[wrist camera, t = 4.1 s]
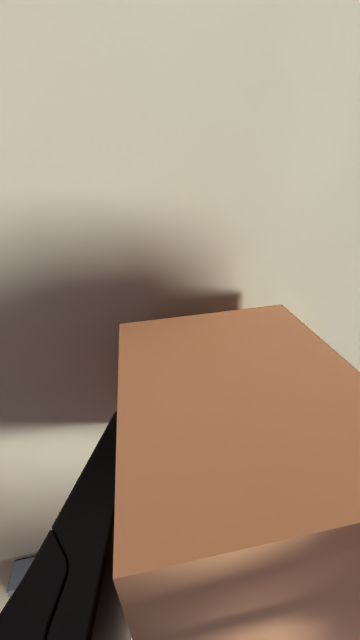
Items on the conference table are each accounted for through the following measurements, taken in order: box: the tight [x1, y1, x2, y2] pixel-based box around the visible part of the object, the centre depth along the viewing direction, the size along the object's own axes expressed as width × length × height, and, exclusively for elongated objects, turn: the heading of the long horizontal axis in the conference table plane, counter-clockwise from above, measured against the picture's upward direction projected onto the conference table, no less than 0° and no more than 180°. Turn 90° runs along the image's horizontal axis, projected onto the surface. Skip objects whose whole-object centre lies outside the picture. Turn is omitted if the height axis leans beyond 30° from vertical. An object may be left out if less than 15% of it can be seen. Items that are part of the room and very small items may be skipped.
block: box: [113, 305, 360, 640], centre depth 7 cm, size 5×5×6 cm
